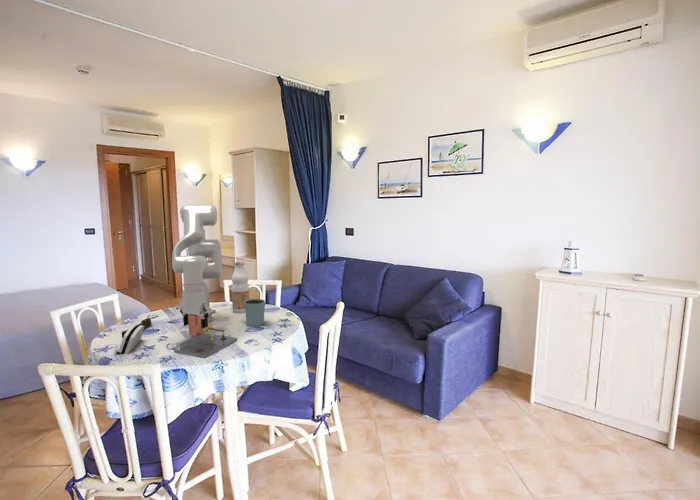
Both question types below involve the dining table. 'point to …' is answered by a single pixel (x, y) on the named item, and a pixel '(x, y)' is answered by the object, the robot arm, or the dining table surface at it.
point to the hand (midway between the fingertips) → (195, 326)
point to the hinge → (130, 339)
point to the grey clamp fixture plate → (204, 343)
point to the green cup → (254, 312)
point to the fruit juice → (239, 288)
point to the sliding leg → (197, 326)
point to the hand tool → (145, 323)
